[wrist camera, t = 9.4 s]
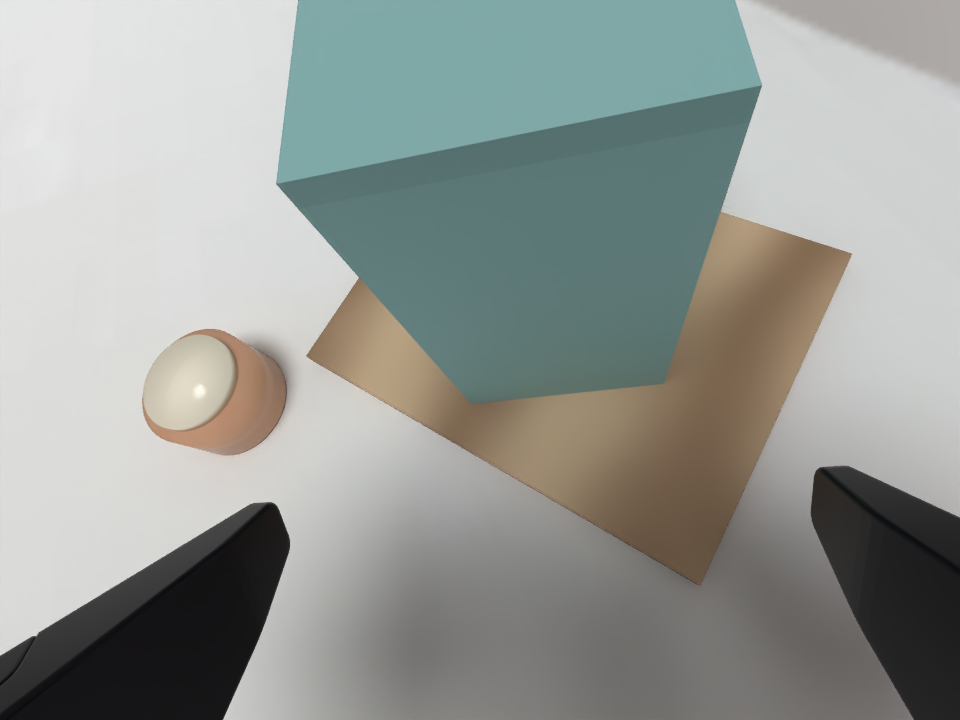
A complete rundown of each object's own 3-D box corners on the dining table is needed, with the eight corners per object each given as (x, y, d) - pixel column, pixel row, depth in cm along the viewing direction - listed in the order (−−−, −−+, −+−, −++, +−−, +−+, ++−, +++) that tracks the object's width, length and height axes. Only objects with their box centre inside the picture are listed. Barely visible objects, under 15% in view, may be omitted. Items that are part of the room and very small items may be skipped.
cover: (664, 384, 17) (761, 85, 6) (471, 404, 19) (275, 183, 8) (634, 218, 20) (669, -208, 9) (465, 246, 21) (309, -96, 10)
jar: (306, 379, 21) (263, 354, 19) (241, 475, 20) (187, 463, 18) (234, 336, 23) (185, 307, 20) (171, 423, 22) (112, 404, 19)
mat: (844, 262, 18) (852, 253, 18) (697, 584, 16) (700, 585, 15) (463, 138, 24) (459, 129, 23) (313, 361, 22) (306, 356, 21)
